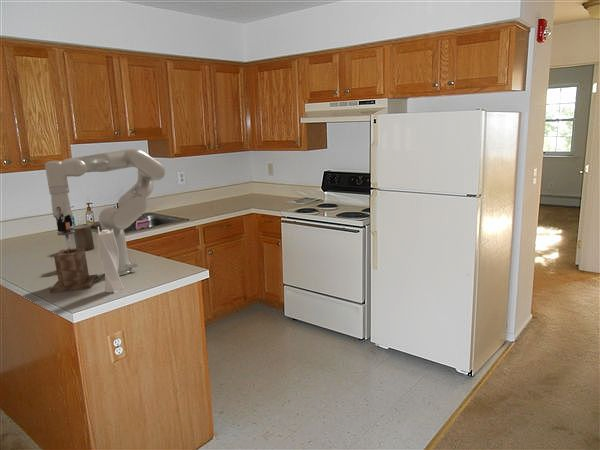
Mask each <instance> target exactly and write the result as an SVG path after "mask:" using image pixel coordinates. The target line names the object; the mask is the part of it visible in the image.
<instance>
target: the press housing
mask: <svg viewBox="0 0 600 450" xmlns="http://www.w3.org/2000/svg"><path fill="white" fill-rule="evenodd" d="M71 252H72V253H68V250H67V248H66V249H60V250H59V251H58V252H57V253H56V254H54V255H53V258H54V259H53V260H54V264H55V270H56V276H57V281H56V283H54V285H53V286H52V287H51V288H50V289H49V291H50V293H58V292H60V293H61V292H67V291H70V292H71V291H77V290H86V289H87V290H88V289H91V288H92V286H93V285H94V283H95V282H96V280H97V279H98V278H99V277H98V274H96V273H95V274H89V268H88V261H87V255H86V251H85V248H76V247H75V248H71Z"/></svg>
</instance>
